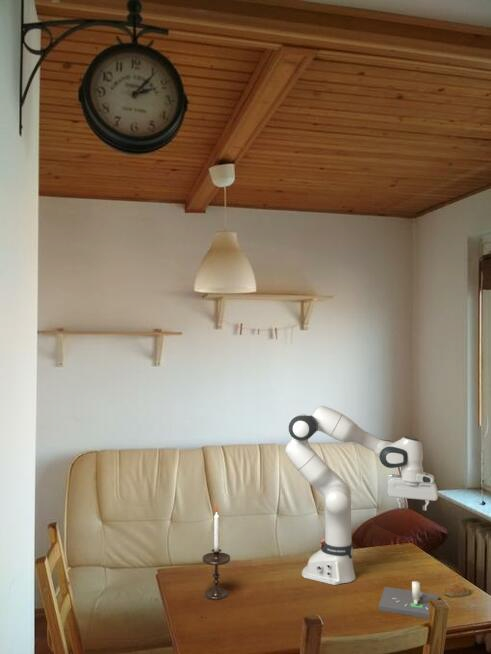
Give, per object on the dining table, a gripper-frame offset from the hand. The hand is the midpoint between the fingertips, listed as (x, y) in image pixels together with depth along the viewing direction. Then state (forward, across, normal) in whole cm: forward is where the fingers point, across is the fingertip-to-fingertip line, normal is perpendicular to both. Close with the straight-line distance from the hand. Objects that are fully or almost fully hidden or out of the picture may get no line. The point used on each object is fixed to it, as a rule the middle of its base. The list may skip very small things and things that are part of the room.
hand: (412, 509), depth 229 cm
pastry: (+30, +17, -7) cm, 35 cm away
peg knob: (+27, +3, -23) cm, 36 cm away
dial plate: (+29, 0, -24) cm, 38 cm away
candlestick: (+29, -71, -43) cm, 88 cm away
